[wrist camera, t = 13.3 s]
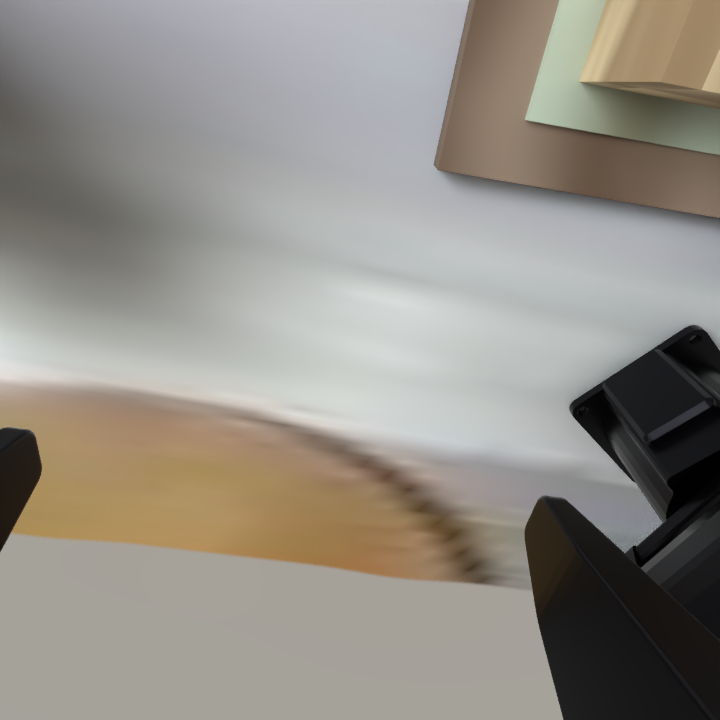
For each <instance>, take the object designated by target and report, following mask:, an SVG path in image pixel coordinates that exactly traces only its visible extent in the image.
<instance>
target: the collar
mask: <svg viewBox="0 0 720 720" xmlns="http://www.w3.org/2000/svg"><path fill="white" fill-rule="evenodd" d="M579 82H583V83H589V84H594V85H599V86H604V87H609V88H614V89H619V90H624V91H630V92H635V93H640V94H645V95H650V96H655V97H660V98H665V99H671V100H676V101H681V102H686V103H691V104H696V105H701V106H706V107H712V108H717V109H720V0H606V2H605V5H604V8H603V11H602V14H601V17H600V20H599V23H598V26H597V29H596V32H595V35H594V38H593V41H592V44H591V47H590V50H589V53H588V56H587V59H586V62H585V65H584V68H583V71H582V74H581V77H580V80H579Z"/></svg>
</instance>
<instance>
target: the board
mask: <svg viewBox="0 0 720 720" xmlns="http://www.w3.org/2000/svg"><path fill="white" fill-rule="evenodd" d="M605 2H606V0H470V1H469V6H468V10H467V15H466V19H465V24H464V29H463V33H462V38H461V42H460V47H459V52H458V56H457V61H456V65H455V70H454V75H453V79H452V84H451V88H450V93H449V97H448V102H447V107H446V111H445V116H444V120H443V125H442V130H441V134H440V139H439V143H438V148H437V153H436V157H435V162H434V166H435V167H436V168H437V169H438V170H442V171H448V172H454V173H459V174H465V175H471V176H477V177H483V178H489V179H494V180H500V181H506V182H512V183H518V184H524V185H530V186H535V187H541V188H547V189H553V190H559V191H565V192H571V193H576V194H582V195H588V196H594V197H600V198H606V199H612V200H617V201H623V202H629V203H635V204H641V205H647V206H652V207H658V208H664V209H670V210H676V211H682V212H688V213H693V214H699V215H705V216H711V217H717V218H720V109H717V108H712V107H706V106H701V105H696V104H691V103H686V102H681V101H676V100H671V99H665V98H660V97H655V96H650V95H645V94H640V93H635V92H630V91H624V90H619V89H614V88H609V87H604V86H599V85H594V84H589V83H583V82H579V80H580V77H581V74H582V71H583V68H584V65H585V62H586V59H587V56H588V53H589V50H590V47H591V44H592V41H593V38H594V35H595V32H596V29H597V26H598V23H599V20H600V17H601V14H602V11H603V8H604V5H605Z"/></svg>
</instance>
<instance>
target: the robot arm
mask: <svg viewBox="0 0 720 720" xmlns="http://www.w3.org/2000/svg"><path fill="white" fill-rule="evenodd" d="M693 335H696V337H695V338H694V339H693V340H690V338H691V337H692V336H693ZM689 340H690V341H689ZM583 407H585V409H583V410H582V411H578V410H579V409H580V408H583ZM569 410H570V412H571V414H572V415H573V417H574V418H575V419H576V420H577V421H578V423H579V424H580V425H581V426H582V427H583V428H584V429H585V430H586V431H587V432H588V433H589V434H590V436H591V437H592V438H593V439H594V440H595V441H596V442H597V443H598V444H599V445H600V446H601V447H602V449H603V450H604V451H605V452H606V453H607V454H608V455H609V456H610V457H611V458H612V459H613V460H614V461H615V463H616V464H617V465H618V466H619V467H620V468H621V469H622V470H623V471H624V472H625V473H626V474H627V476H628V477H629V478H630V479H631V480H632V481H633V482H635V483H636V484H637V485H638V487H639V488H640V490H641V491H642V493H643V494H644V496H645V497H646V499H647V500H648V502H649V503H650V505H651V506H652V507H653V509H654V510H655V512H656V513H657V515H658V516H659V518H660V519H661V521H662V522H663V523H662V524H661V525H660V526H659V527H658V528H657V529H656V530H655V531H653V532H652V533H651V534H650V535H649V536H648V537H647V538H646V539H644V540H643V541H642V542H641V543H640V544H639V545H638V546H637V547H636V546H633V547H631V548H630V549H629V550H628V551H627V552H626V553H624V552H623V551H622V550H620V549H619V548H618V547H617V546H616V545H615V544H614V543H613V542H612V541H611V540H610V539H608V538H607V537H606V536H605V535H604V534H603V533H602V532H601V531H600V530H599V529H598V528H596V527H595V526H594V525H593V524H592V523H591V522H590V521H589V520H588V519H587V518H586V517H584V516H583V515H582V514H581V513H580V512H579V511H578V510H577V509H576V508H575V507H574V506H572V505H571V504H570V503H569V502H568V501H567V500H566V499H564V498H561V497H553V496H541V497H540V498H539V499H538V501H537V503H536V505H535V507H534V509H533V511H532V514H531V516H530V518H529V520H528V522H527V524H526V528H525V544H526V550H527V557H528V563H529V570H530V576H531V583H532V589H533V595H534V602H535V608H536V613H537V619H538V624H539V628H540V632H541V636H542V640H543V644H544V647H545V651H546V655H547V659H548V663H549V666H550V670H551V674H552V678H553V682H554V685H555V689H556V693H557V697H558V701H559V704H560V708H561V712H562V716H563V720H720V351H719V349H718V348H717V346H716V345H715V343H714V342H713V341H712V339H711V338H710V336H709V335H708V333H707V332H706V331H705V330H703V329H702V328H701V327H699V326H696V325H692V326H688V327H686V328H684V329H683V330H681V331H680V332H678V333H677V334H675V335H674V336H672V337H670V338H669V339H667V340H666V341H664V342H663V343H661V344H660V345H658V346H657V347H655V348H654V349H652V350H651V351H649V352H648V353H646V354H645V355H643V356H641V357H640V358H638V359H637V360H635V361H634V362H632V363H631V364H629V365H628V366H626V367H625V368H623V369H622V370H620V371H619V372H617V373H616V374H614V375H612V376H611V377H609V378H608V379H606V380H605V381H603V382H602V383H600V384H599V385H597V386H596V387H594V388H593V389H591V390H590V391H588V392H587V393H585V394H583V395H582V396H580V397H579V398H577V399H576V400H574V401H573V402H572V403H571V405H570V408H569ZM41 471H42V464H41V459H40V455H39V450H38V446H37V441H36V437H35V434H34V433H33V432H32V431H30V430H28V429H20V428H12V427H6V428H2V429H0V551H1V550H2V548H3V546H4V544H5V542H6V541H7V539H8V537H9V535H10V533H11V531H12V529H13V528H14V526H15V524H16V522H17V520H18V518H19V516H20V515H21V513H22V511H23V509H24V507H25V505H26V503H27V501H28V500H29V498H30V496H31V494H32V492H33V490H34V488H35V486H36V485H37V483H38V481H39V479H40V476H41Z"/></svg>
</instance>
